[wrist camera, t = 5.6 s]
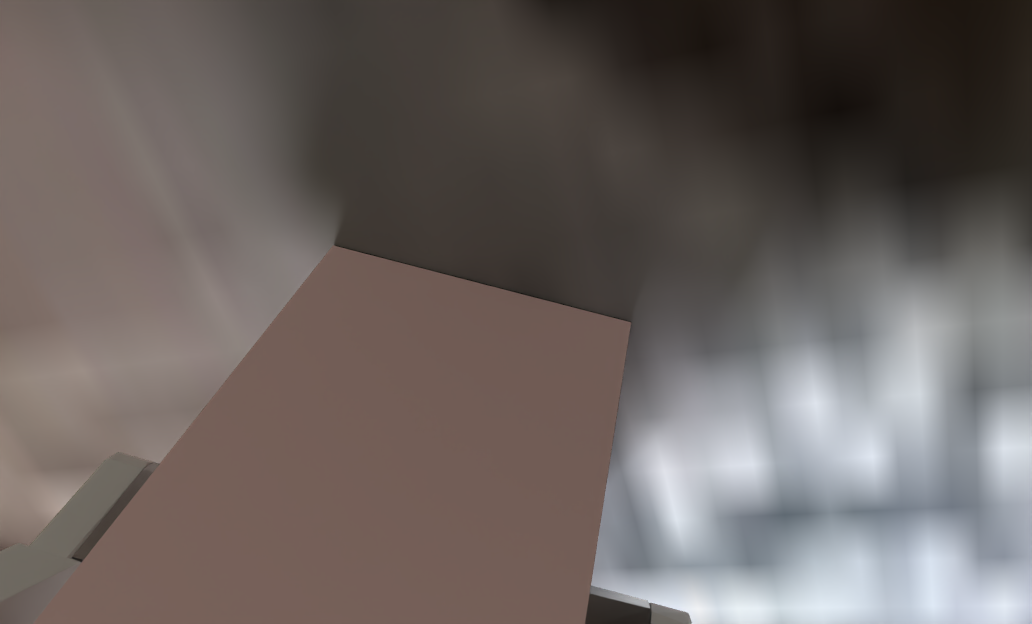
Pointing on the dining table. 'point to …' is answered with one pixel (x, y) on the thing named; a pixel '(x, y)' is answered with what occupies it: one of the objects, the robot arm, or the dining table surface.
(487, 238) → the dining table surface
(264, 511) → the dusty-rose block
